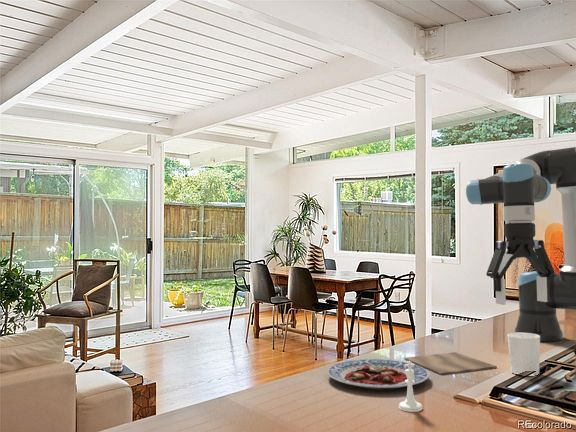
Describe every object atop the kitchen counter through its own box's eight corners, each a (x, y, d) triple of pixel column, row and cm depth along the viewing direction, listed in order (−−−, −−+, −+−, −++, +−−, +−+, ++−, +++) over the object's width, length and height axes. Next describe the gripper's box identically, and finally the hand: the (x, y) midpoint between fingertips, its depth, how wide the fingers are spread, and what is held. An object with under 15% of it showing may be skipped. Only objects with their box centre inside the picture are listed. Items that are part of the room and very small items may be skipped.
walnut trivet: (455, 353, 158) (455, 352, 158) (496, 368, 141) (496, 366, 141) (404, 359, 152) (404, 357, 152) (440, 375, 135) (440, 373, 135)
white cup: (545, 378, 131) (543, 338, 131) (512, 377, 132) (511, 337, 133) (536, 370, 138) (535, 332, 139) (505, 369, 140) (504, 332, 140)
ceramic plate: (413, 402, 115) (413, 388, 115) (310, 386, 128) (310, 374, 128) (439, 373, 138) (439, 362, 138) (350, 363, 150) (350, 352, 150)
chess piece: (395, 404, 113) (394, 358, 113) (417, 403, 113) (416, 358, 114) (402, 412, 108) (401, 364, 108) (425, 411, 108) (424, 363, 109)
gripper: (490, 222, 129) (492, 307, 128) (567, 221, 137) (570, 301, 136) (470, 223, 136) (473, 303, 136) (545, 222, 144) (547, 298, 144)
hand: (521, 302), depth 136 cm, fingers open, 13 cm apart
